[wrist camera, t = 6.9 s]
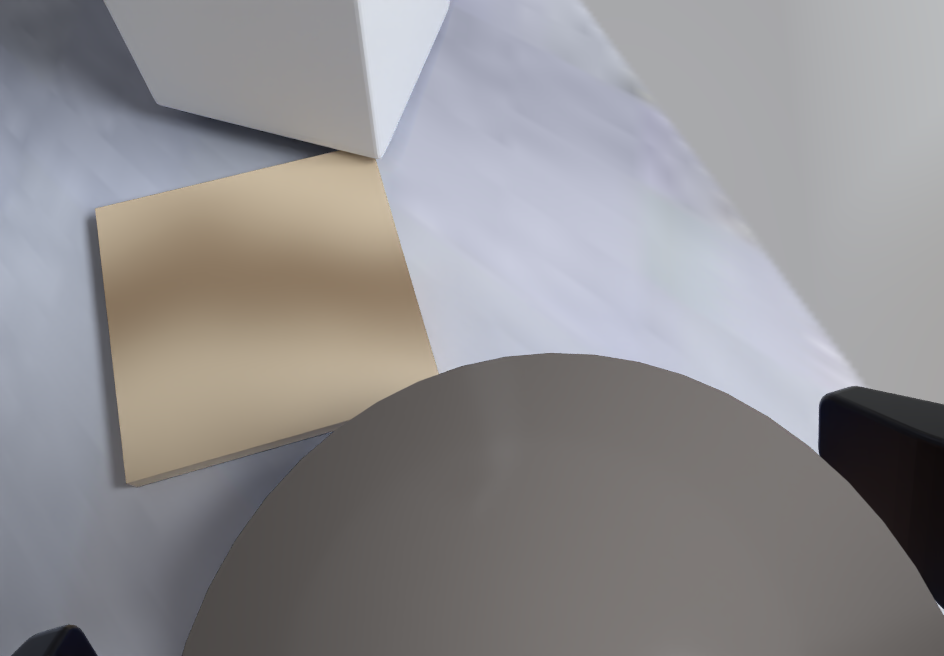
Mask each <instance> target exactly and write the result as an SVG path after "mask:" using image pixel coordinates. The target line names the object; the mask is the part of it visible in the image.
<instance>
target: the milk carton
mask: <svg viewBox="0 0 944 656" xmlns="http://www.w3.org/2000/svg"><path fill="white" fill-rule="evenodd" d="M103 1H104V3H105V5H106V6H107V8H108V10H109V12H110V14H111V16H112V18H113V20H114V22H115V24H116V26H117V28H118V30H119V32H120V34H121V36H122V38H123V40H124V42H125V44H126V46H127V48H128V49H129V51H130V53H131V55H132V57H133V59H134V61H135V63H136V65H137V67H138V69H139V71H140V73H141V75H142V77H143V79H144V81H145V83H146V85H147V87H148V89H149V91H150V92H151V94H152V96H153V98H154V100H155V102H156V103H157V104H159V105H161V106H165V107H169V108H173V109H177V110H181V111H185V112H189V113H193V114H197V115H201V116H205V117H209V118H213V119H217V120H221V121H225V122H229V123H233V124H237V125H241V126H245V127H249V128H253V129H257V130H261V131H265V132H269V133H273V134H277V135H281V136H285V137H289V138H293V139H297V140H301V141H305V142H309V143H313V144H317V145H321V146H325V147H329V148H333V149H337V150H341V151H346V152H350V153H354V154H358V155H362V156H366V157H370V158H374V159H381V158H382V157H383V155H384V153H385V151H386V149H387V147H388V145H389V143H390V140H391V138H392V136H393V134H394V132H395V129H396V127H397V125H398V123H399V120H400V118H401V116H402V113H403V111H404V109H405V107H406V104H407V102H408V100H409V98H410V95H411V93H412V91H413V89H414V86H415V84H416V82H417V80H418V77H419V75H420V73H421V71H422V68H423V66H424V64H425V62H426V59H427V57H428V55H429V52H430V50H431V48H432V46H433V43H434V41H435V39H436V37H437V34H438V32H439V30H440V28H441V25H442V23H443V21H444V18H445V16H446V14H447V11H448V8H449V3H450V0H103Z"/></svg>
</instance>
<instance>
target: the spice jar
mask: <svg viewBox="0 0 944 656" xmlns="http://www.w3.org/2000/svg"><path fill="white" fill-rule="evenodd" d="M182 656H944V615H943V614H942V612H941V610H940V608H939V607H938V605H937V603H936V601H935V600H934V598H933V596H932V594H931V593H930V591H929V589H928V587H927V586H926V584H925V582H924V580H923V579H922V577H921V575H920V573H919V572H918V570H917V568H916V566H915V565H914V564H913V562H912V561H911V559H910V558H909V557H908V555H907V554H906V552H905V551H904V550H903V548H902V547H901V545H900V544H899V543H898V541H897V540H896V538H895V537H894V536H893V534H892V533H891V531H890V530H889V529H888V527H887V526H886V525H885V523H884V522H883V521H882V519H881V518H880V517H879V516H878V515H877V514H876V513H875V512H874V510H873V509H872V508H871V507H870V506H869V505H868V504H867V503H866V501H865V500H864V499H863V498H862V497H861V496H860V495H859V494H858V492H857V491H856V490H855V489H854V488H853V487H852V486H851V485H850V483H849V482H848V481H847V480H846V479H845V478H843V477H842V476H841V475H840V474H839V473H838V472H837V471H836V470H835V469H833V468H832V467H831V466H830V465H829V464H828V463H827V462H826V461H825V460H824V459H822V458H821V457H820V456H819V455H818V454H817V453H816V452H815V451H814V450H813V449H811V448H810V447H809V446H808V445H806V444H805V443H804V442H802V441H801V440H800V439H798V438H797V437H795V436H794V435H793V434H791V433H790V432H789V431H787V430H786V429H784V428H783V427H782V426H780V425H779V424H778V423H776V422H775V421H773V420H772V419H771V418H769V417H768V416H766V415H764V414H762V413H761V412H759V411H757V410H755V409H754V408H752V407H750V406H748V405H746V404H745V403H743V402H741V401H739V400H738V399H736V398H734V397H732V396H731V395H729V394H727V393H725V392H722V391H720V390H718V389H715V388H713V387H711V386H708V385H706V384H704V383H701V382H699V381H696V380H694V379H692V378H689V377H687V376H685V375H682V374H678V373H675V372H671V371H668V370H665V369H661V368H658V367H654V366H651V365H647V364H644V363H641V362H635V361H629V360H623V359H617V358H611V357H605V356H599V355H587V354H561V353H545V354H533V355H521V356H509V357H502V358H498V359H493V360H488V361H484V362H479V363H474V364H470V365H465V366H461V367H458V368H455V369H452V370H449V371H447V372H444V373H441V374H438V375H435V376H432V377H429V378H427V379H424V380H421V381H418V382H416V383H414V384H412V385H410V386H408V387H406V388H404V389H402V390H400V391H398V392H396V393H394V394H392V395H390V396H388V397H386V398H384V399H382V400H380V401H378V402H376V403H375V404H373V405H372V406H370V407H369V408H367V409H366V410H364V411H363V412H361V413H360V414H358V415H357V416H355V417H354V418H352V419H351V420H349V421H348V422H346V423H345V424H343V425H342V426H340V427H339V428H337V429H336V430H335V431H334V432H333V433H332V434H330V435H329V436H328V437H327V438H326V439H325V440H323V441H322V442H321V443H320V444H319V445H318V446H316V447H315V448H314V449H313V450H312V451H311V452H309V453H308V454H307V455H306V456H305V457H303V458H302V459H301V460H300V461H299V462H298V463H297V465H296V466H295V467H294V468H293V469H292V470H291V471H290V472H289V473H288V474H287V475H286V476H285V478H284V479H283V480H282V481H281V482H280V483H279V484H278V485H277V486H276V487H275V488H274V490H273V491H272V492H271V493H270V494H269V495H268V496H267V497H266V499H265V500H264V501H263V503H262V504H261V505H260V507H259V508H258V510H257V511H256V512H255V514H254V515H253V516H252V518H251V519H250V521H249V522H248V523H247V525H246V526H245V528H244V529H243V530H242V532H241V533H240V534H239V536H238V537H237V539H236V540H235V542H234V544H233V545H232V547H231V549H230V551H229V552H228V554H227V556H226V558H225V560H224V561H223V563H222V565H221V567H220V569H219V570H218V572H217V574H216V576H215V577H214V579H213V581H212V583H211V585H210V586H209V588H208V591H207V593H206V595H205V598H204V600H203V602H202V605H201V607H200V610H199V612H198V614H197V617H196V619H195V622H194V624H193V626H192V629H191V631H190V633H189V636H188V638H187V641H186V643H185V647H184V650H183V654H182Z"/></svg>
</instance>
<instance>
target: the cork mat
mask: <svg viewBox="0 0 944 656" xmlns="http://www.w3.org/2000/svg"><path fill="white" fill-rule="evenodd" d="M95 211H96V220H97V229H98V238H99V247H100V256H101V265H102V273H103V282H104V291H105V300H106V309H107V318H108V327H109V336H110V344H111V353H112V362H113V371H114V380H115V389H116V398H117V407H118V415H119V424H120V433H121V442H122V451H123V460H124V469H125V477H126V484H129V485H132V486H135V487H140V486H143V485H147V484H150V483H154V482H157V481H161V480H164V479H168V478H171V477H175V476H178V475H182V474H185V473H189V472H192V471H196V470H199V469H203V468H206V467H210V466H213V465H217V464H220V463H224V462H227V461H231V460H234V459H238V458H241V457H245V456H248V455H252V454H255V453H258V452H262V451H265V450H269V449H272V448H276V447H279V446H283V445H286V444H290V443H293V442H297V441H300V440H304V439H307V438H311V437H314V436H318V435H321V434H325V433H328V432H332V431H335V430H336V429H337V428H339V427H340V426H342V425H343V424H345V423H346V422H348V421H349V420H351V419H352V418H354V417H355V416H357V415H358V414H360V413H361V412H363V411H364V410H366V409H367V408H369V407H370V406H372V405H373V404H375V403H376V402H378V401H380V400H382V399H384V398H386V397H388V396H390V395H392V394H394V393H396V392H398V391H400V390H402V389H404V388H406V387H408V386H410V385H412V384H414V383H416V382H418V381H421V380H424V379H427V378H429V377H432V376H435V375H438V374H439V373H438V370H437V367H436V363H435V360H434V356H433V353H432V350H431V346H430V343H429V339H428V336H427V333H426V329H425V326H424V322H423V319H422V316H421V312H420V309H419V305H418V302H417V299H416V295H415V292H414V288H413V285H412V282H411V278H410V275H409V271H408V268H407V265H406V261H405V258H404V254H403V251H402V248H401V244H400V241H399V237H398V234H397V231H396V227H395V224H394V220H393V217H392V214H391V210H390V207H389V203H388V200H387V197H386V193H385V190H384V186H383V183H382V179H381V176H380V173H379V169H378V166H377V162H376V159H374V158H370V157H366V156H362V155H358V154H354V153H350V152H346V151H341V150H339V151H335V152H330V153H326V154H322V155H318V156H314V157H309V158H305V159H301V160H297V161H293V162H288V163H284V164H280V165H276V166H272V167H267V168H263V169H259V170H255V171H251V172H247V173H242V174H238V175H234V176H230V177H226V178H221V179H217V180H213V181H209V182H205V183H200V184H196V185H192V186H188V187H184V188H179V189H175V190H171V191H167V192H163V193H159V194H154V195H150V196H146V197H142V198H138V199H133V200H129V201H125V202H121V203H117V204H112V205H108V206H104V207H100V208H96V209H95Z"/></svg>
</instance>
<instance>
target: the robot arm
mask: <svg viewBox="0 0 944 656" xmlns="http://www.w3.org/2000/svg"><path fill="white" fill-rule="evenodd" d="M818 449H819V455H820V457H821V458H822V459H824V460H825V461H826V462H827V463H828V464H829V465H830V466H831V467H832V468H833V469H835V470H836V471H837V472H838V473H839V474H840V475H841V476H842V477H843V478H845V479H846V480H847V481H848V482H849V483H850V485H851V486H852V487H853V488H854V489H855V490H856V491H857V492H858V494H859V495H860V496H861V497H862V498H863V499H864V500H865V501H866V503H867V504H868V505H869V506H870V507H871V508H872V509H873V510H874V512H875V513H876V514H877V515H878V516H879V517H880V518H881V519H882V521H883V522H884V523H885V525H886V526H887V527H888V529H889V530H890V531H891V533H892V534H893V536H894V537H895V538H896V540H897V541H898V543H899V544H900V545H901V547H902V548H903V550H904V551H905V552H906V554H907V555H908V557H909V558H910V559H911V561H912V562H913V564H914V565H915V566H916V568H917V570H918V572H919V573H920V575H921V577H922V579H923V580H924V582H925V584H926V586H927V587H928V589H929V591H930V593H931V594H932V596H933V598H934V600H935V601H936V602H937V603H938V604H939V605H940V606H941V607H942V608H943V609H944V404H939V403H934V402H930V401H925V400H920V399H916V398H910V397H906V396H901V395H897V394H892V393H887V392H883V391H878V390H873V389H868V388H864V387H858V386H852V387H847V388H844V389H841V390H837V391H834V392H831V393H828V394H826V395H825V396H823V397H822V399H821V401H820V404H819V439H818ZM11 656H97V654H96V652H95V651H94V649H93V648H92V646H91V644H90V643H89V641H88V639H87V638H86V636H85V634H84V633H83V632H82V630H81V629H80V628H79V627H77V626H75V625H70V624H68V625H64V626H61V627H57V628H54V629H51V630H47V631H44V632H41V633H38V634H36V635H34V636H32V637H30V638H29V639H28V640H27V641H26V642H25V643H24V644H23V645H22V646H21V647H20V648H19V649H18V650H16V651H15V652H14V653H13V654H12V655H11Z"/></svg>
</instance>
